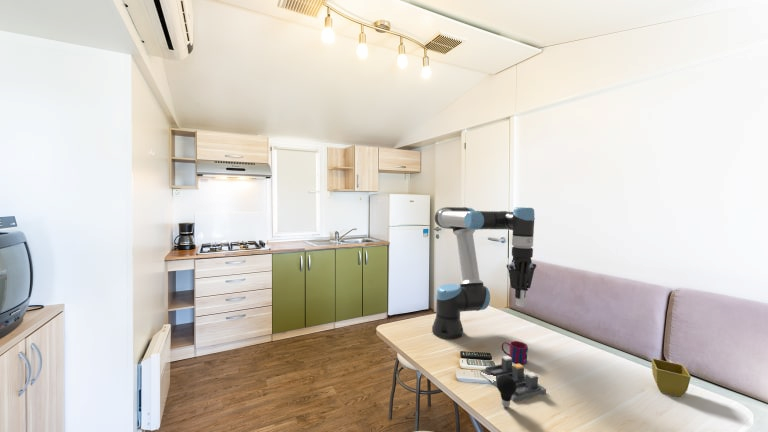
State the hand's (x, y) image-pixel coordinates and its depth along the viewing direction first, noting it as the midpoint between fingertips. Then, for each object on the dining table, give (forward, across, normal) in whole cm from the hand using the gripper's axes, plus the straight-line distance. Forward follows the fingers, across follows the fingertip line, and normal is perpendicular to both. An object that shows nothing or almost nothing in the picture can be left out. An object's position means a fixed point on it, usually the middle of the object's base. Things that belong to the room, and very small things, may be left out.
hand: (519, 306), depth 121 cm
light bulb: (+25, -22, -18) cm, 38 cm away
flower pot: (+25, +39, -30) cm, 55 cm away
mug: (+25, +3, +5) cm, 25 cm away
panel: (+24, -10, -8) cm, 28 cm away
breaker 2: (+23, -8, -15) cm, 28 cm away
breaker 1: (+23, -7, -2) cm, 24 cm away
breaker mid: (+23, -8, -8) cm, 25 cm away
